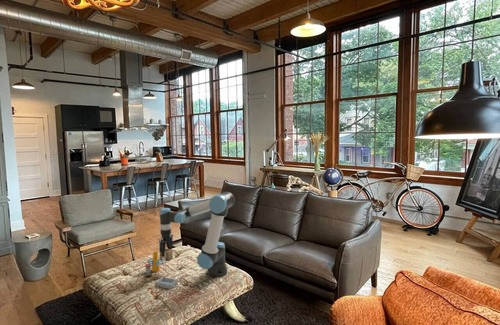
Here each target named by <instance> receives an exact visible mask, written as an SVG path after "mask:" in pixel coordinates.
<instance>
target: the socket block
mask: <svg viewBox="0 0 500 325" xmlns="http://www.w3.org/2000/svg"><path fill="white" fill-rule="evenodd" d="M154 278H155V274H152V273H151V277H150V278H146V274H145V275H144V276H142V277H141V279H142V280H141V281H142V282H147V283H150V282H152V281H153V280H154Z"/></svg>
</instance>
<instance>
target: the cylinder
mask: <svg viewBox="0 0 500 325" xmlns="http://www.w3.org/2000/svg"><path fill="white" fill-rule="evenodd" d="M147 264H151V266H150V268H151V271H152V272H153V271H154V272H153V273H155V272H156V271H157V272H159V271H160V270H161V266H162V265H163V264H164V261H163V260H160V257H159V250H153V251H152V258H149V259H148V260H147ZM157 272H156V273H157Z"/></svg>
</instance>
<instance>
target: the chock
mask: <svg viewBox="0 0 500 325" xmlns="http://www.w3.org/2000/svg"><path fill="white" fill-rule="evenodd" d="M165 252H166V261H165V262H171V260H173V258H174V254H173V249H171V250H170V249H168V248H165ZM159 258H160V259H159V260H160V261H161V260H162V253H161V252H160V251H159Z"/></svg>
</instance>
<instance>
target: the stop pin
mask: <svg viewBox="0 0 500 325" xmlns="http://www.w3.org/2000/svg"><path fill="white" fill-rule="evenodd" d="M151 265H152V264H149V263H146V264H145V265H144V267H145V275H146V278H150V277H151V274H152V272H151V271H152V269H151V267H152V266H151ZM150 266H151V267H150Z"/></svg>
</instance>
